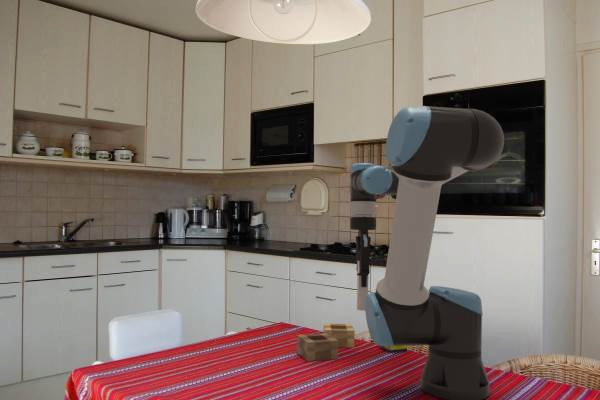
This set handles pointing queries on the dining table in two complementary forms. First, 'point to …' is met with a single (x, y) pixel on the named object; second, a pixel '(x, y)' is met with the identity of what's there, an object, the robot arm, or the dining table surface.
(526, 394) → the dining table surface
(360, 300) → the needle dowel
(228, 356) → the dining table surface
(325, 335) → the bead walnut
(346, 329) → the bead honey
